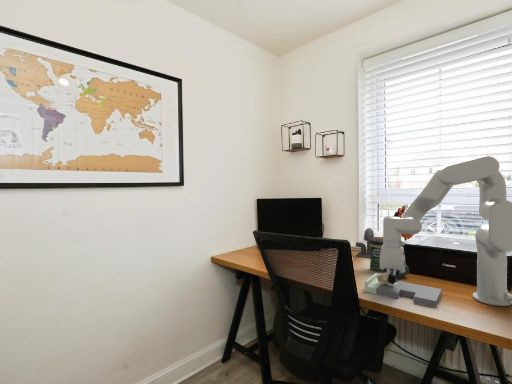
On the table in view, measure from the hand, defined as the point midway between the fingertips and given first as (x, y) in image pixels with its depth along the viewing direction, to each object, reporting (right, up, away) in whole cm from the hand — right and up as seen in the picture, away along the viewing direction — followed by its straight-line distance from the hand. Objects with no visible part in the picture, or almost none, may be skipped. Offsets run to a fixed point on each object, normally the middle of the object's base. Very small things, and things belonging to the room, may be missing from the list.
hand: (392, 283), depth 132 cm
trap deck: (+3, -4, -2) cm, 6 cm away
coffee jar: (+7, -3, +31) cm, 32 cm away
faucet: (+12, -2, +57) cm, 58 cm away
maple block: (-2, -1, +2) cm, 3 cm away
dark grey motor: (+11, -3, +18) cm, 22 cm away
